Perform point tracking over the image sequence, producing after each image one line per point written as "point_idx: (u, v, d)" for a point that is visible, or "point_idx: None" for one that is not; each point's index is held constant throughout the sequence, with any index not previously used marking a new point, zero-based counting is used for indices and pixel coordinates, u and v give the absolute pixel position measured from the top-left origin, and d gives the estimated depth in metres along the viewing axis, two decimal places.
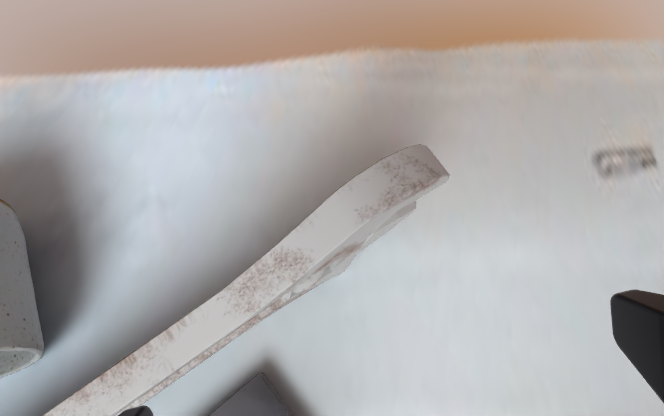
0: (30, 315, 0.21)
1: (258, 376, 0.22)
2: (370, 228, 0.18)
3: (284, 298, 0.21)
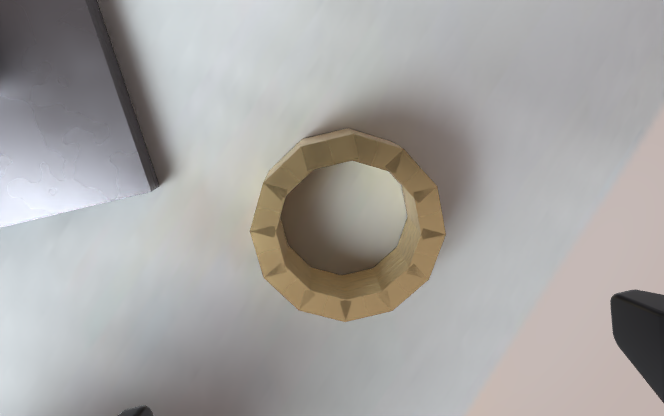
0: None
1: None
2: None
3: None
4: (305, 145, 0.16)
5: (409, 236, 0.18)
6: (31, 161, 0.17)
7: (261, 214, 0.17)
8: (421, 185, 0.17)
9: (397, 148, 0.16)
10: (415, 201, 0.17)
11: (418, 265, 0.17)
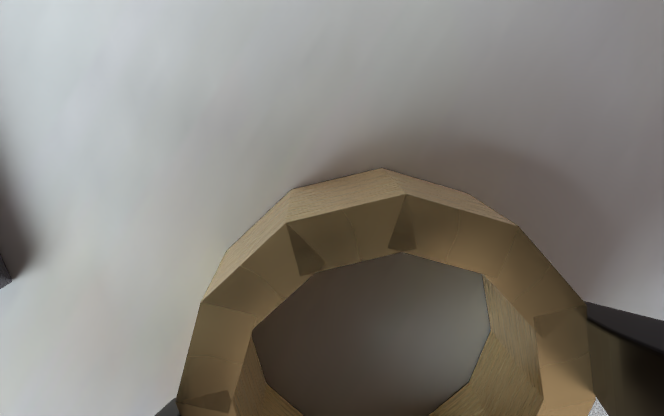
0: None
1: None
2: None
3: None
4: (295, 219, 0.07)
5: (502, 379, 0.09)
6: None
7: (198, 367, 0.07)
8: (552, 303, 0.08)
9: (505, 225, 0.07)
10: (536, 334, 0.08)
11: None
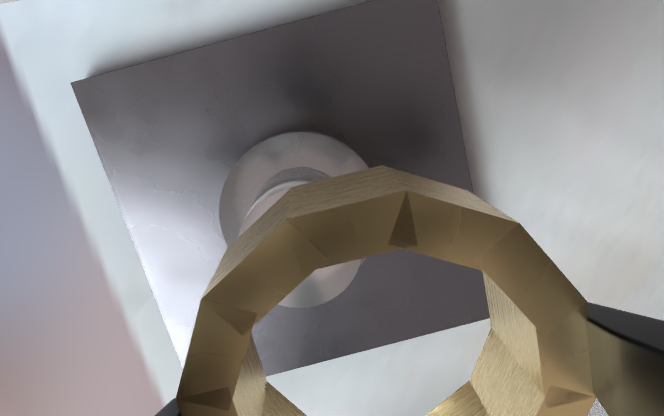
0: None
1: None
2: None
3: None
4: (296, 216, 0.07)
5: (503, 377, 0.09)
6: (401, 295, 0.20)
7: (198, 364, 0.07)
8: (553, 299, 0.08)
9: (506, 222, 0.07)
10: (537, 332, 0.08)
11: None
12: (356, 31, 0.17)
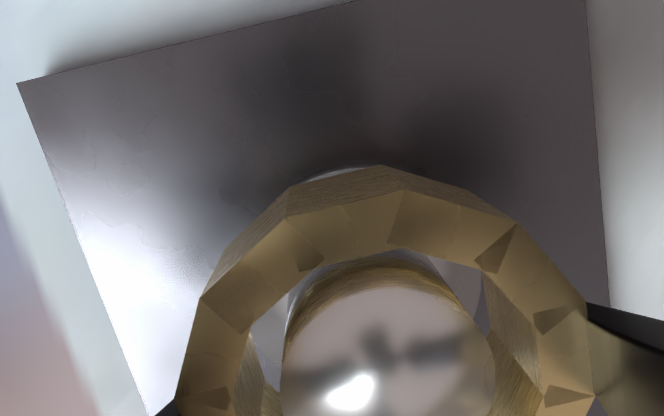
0: None
1: None
2: None
3: None
4: (294, 215, 0.07)
5: (502, 377, 0.09)
6: None
7: (196, 363, 0.07)
8: (551, 298, 0.08)
9: (504, 221, 0.07)
10: (535, 331, 0.08)
11: None
12: (457, 16, 0.11)
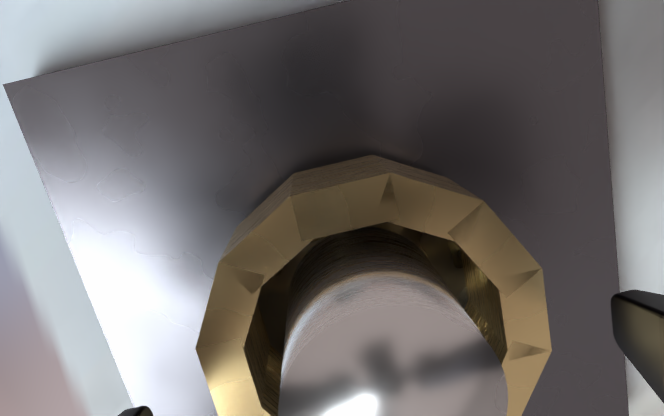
0: None
1: None
2: None
3: None
4: (298, 193, 0.09)
5: None
6: None
7: (215, 318, 0.09)
8: (513, 266, 0.09)
9: (472, 200, 0.09)
10: (500, 294, 0.09)
11: None
12: (463, 14, 0.11)
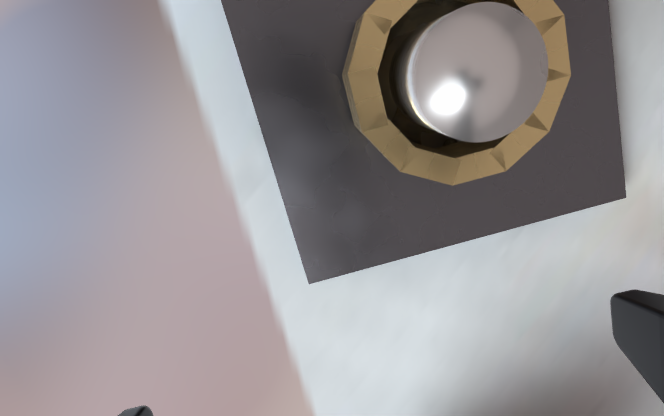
0: None
1: None
2: None
3: None
4: None
5: None
6: (530, 174, 0.19)
7: (360, 52, 0.14)
8: (546, 13, 0.14)
9: None
10: None
11: (538, 114, 0.15)
12: None
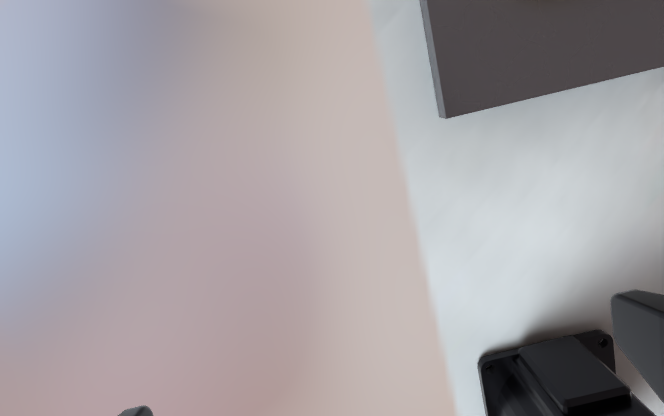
0: None
1: None
2: None
3: None
4: None
5: None
6: None
7: None
8: None
9: None
10: None
11: None
12: None
